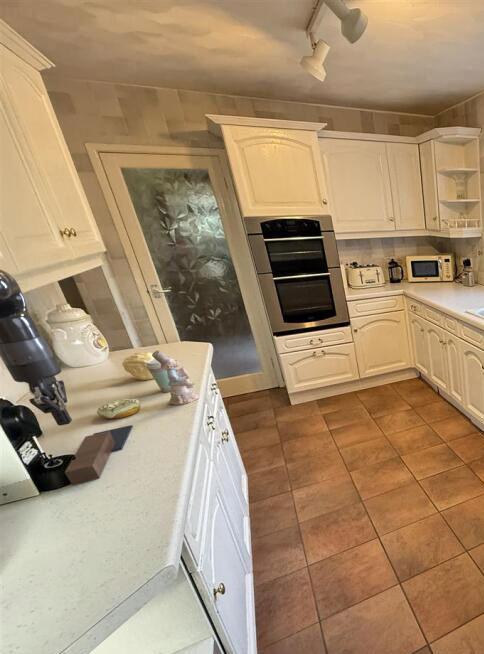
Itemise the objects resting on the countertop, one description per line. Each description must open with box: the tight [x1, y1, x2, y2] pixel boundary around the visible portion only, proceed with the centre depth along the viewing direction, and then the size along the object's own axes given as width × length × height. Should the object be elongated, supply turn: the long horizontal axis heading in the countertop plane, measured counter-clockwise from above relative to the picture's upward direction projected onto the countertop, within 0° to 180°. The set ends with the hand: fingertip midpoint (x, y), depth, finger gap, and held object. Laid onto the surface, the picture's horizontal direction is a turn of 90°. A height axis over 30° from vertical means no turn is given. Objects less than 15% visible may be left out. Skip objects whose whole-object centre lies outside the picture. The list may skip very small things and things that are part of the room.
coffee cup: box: [146, 358, 178, 393], centre depth 149 cm, size 8×8×12 cm
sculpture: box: [121, 351, 155, 381], centre depth 161 cm, size 11×12×11 cm
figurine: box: [152, 350, 199, 406], centre depth 137 cm, size 9×8×20 cm
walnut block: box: [64, 431, 115, 486], centre depth 105 cm, size 4×5×19 cm
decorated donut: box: [96, 398, 141, 420], centre depth 132 cm, size 10×11×4 cm
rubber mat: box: [92, 424, 133, 453], centre depth 116 cm, size 16×9×1 cm, turn 33°
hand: (65, 423), depth 97 cm, fingers closed
